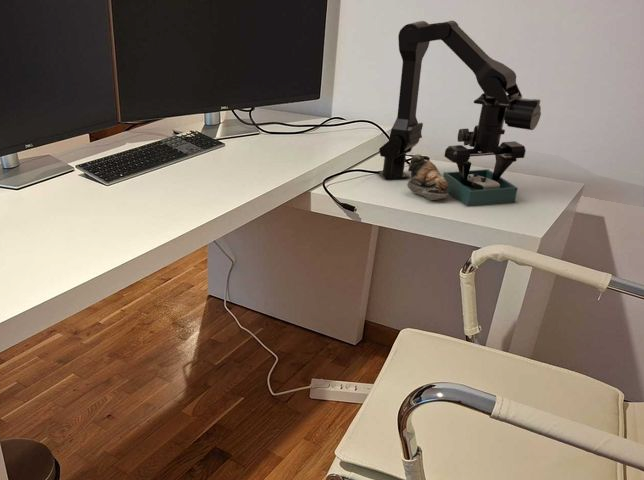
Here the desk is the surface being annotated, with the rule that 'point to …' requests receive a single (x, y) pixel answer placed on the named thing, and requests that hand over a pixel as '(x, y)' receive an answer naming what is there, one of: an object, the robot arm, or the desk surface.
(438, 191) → the bison figurine
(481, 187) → the game controller
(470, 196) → the bin
